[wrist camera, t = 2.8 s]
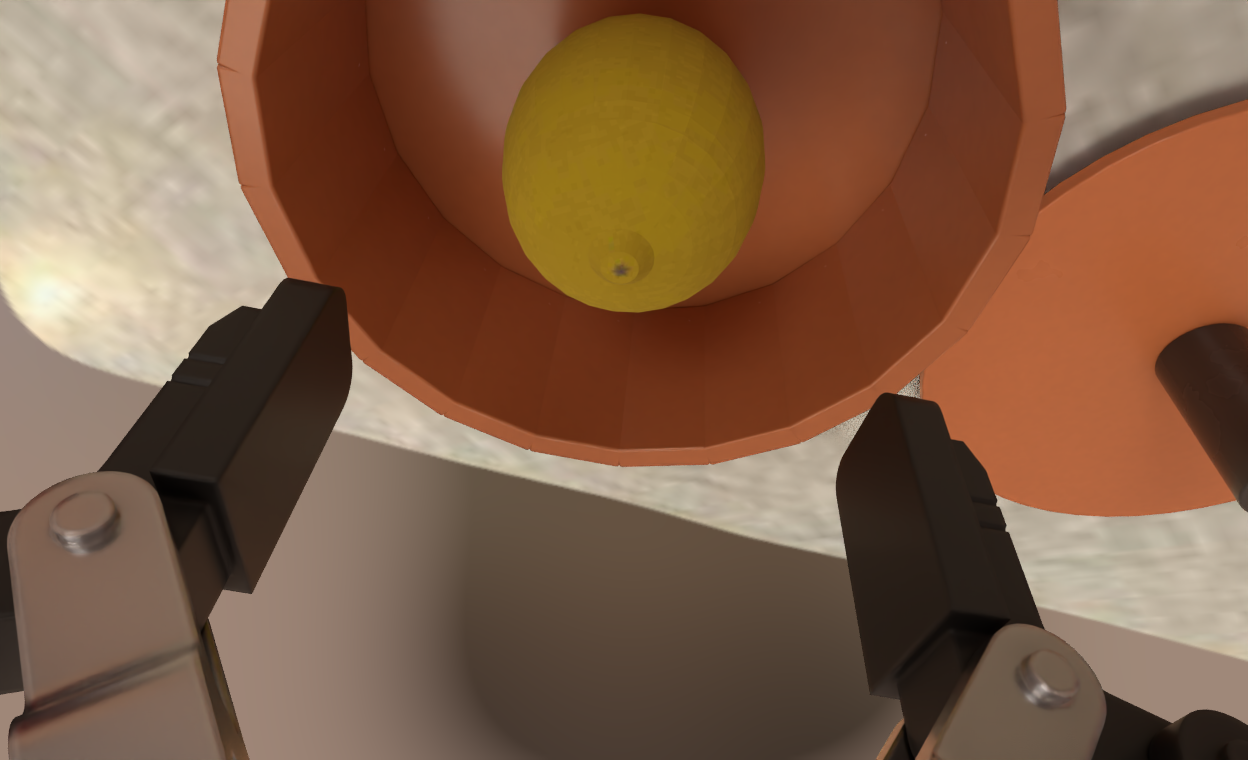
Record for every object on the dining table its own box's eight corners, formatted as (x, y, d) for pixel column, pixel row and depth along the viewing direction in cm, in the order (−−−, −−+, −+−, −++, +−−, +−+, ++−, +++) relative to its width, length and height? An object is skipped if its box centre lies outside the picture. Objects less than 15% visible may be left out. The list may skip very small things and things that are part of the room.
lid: (1106, 5, 17) (1248, 121, 13) (1717, 150, 18) (2040, 301, 14) (840, 451, 28) (866, 596, 24) (1232, 524, 29) (1327, 675, 25)
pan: (311, -431, 13) (107, -486, 9) (1116, -222, 14) (1307, -173, 10) (361, 267, 24) (280, 407, 19) (823, 357, 25) (851, 509, 20)
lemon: (581, 207, 21) (536, 404, 16) (501, 9, 18) (405, 170, 12) (774, 158, 20) (803, 355, 14) (728, -68, 16) (741, 72, 11)
